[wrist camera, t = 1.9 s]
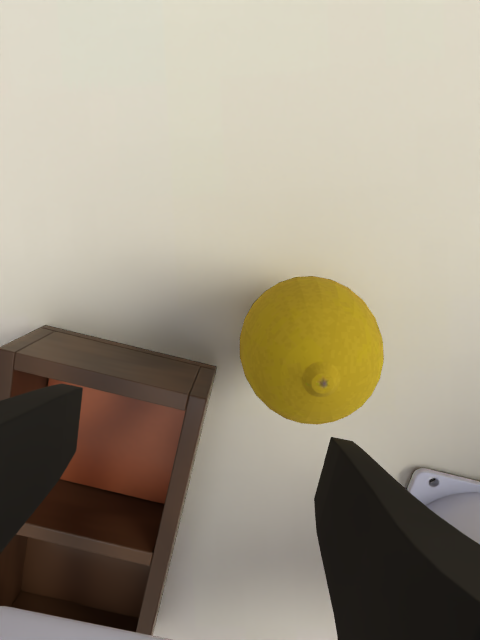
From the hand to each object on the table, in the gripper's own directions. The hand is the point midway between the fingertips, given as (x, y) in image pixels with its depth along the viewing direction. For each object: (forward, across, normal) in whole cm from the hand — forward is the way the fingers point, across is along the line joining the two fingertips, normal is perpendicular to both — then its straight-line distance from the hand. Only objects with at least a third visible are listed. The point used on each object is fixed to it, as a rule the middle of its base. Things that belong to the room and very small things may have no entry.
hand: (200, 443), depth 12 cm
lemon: (+10, -3, -2) cm, 10 cm away
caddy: (+10, +5, +10) cm, 15 cm away
